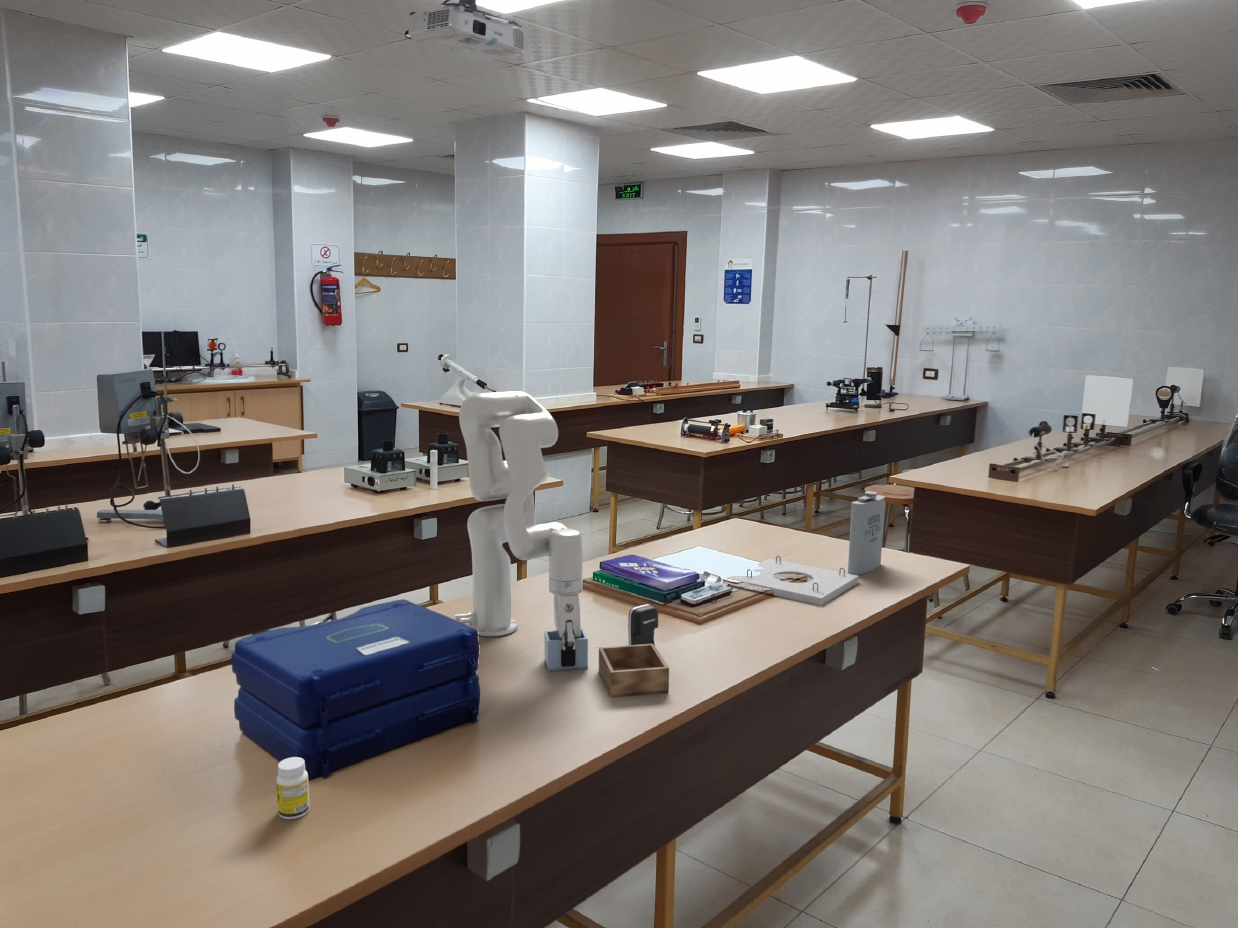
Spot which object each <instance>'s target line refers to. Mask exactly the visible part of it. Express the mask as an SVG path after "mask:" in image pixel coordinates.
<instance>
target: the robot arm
mask: <svg viewBox="0 0 1238 928" xmlns="http://www.w3.org/2000/svg"><path fill="white" fill-rule="evenodd" d="M458 414H459V415H458V416H459V418H458V419H459V426H460V430H461V434H462V437H463V440H464V443H465V447H466V456H467V457H466V459H467V467H468V468H467V469H468V478H469V479H468V480H469V487H470V492H471V495H472V496H473V498H474V499H475V500H477V501H480V502H489V501H497V500H503V499H505V503H503V504H500V503H499V504H495V505H489V506H483V507H481V508H477V509H476V510H474V511H472V512H471V513H470V515H469V517H468V519H467V532H468V537H469V541H470V549H471V563H472V564H471V565H472V567H471V569H472V601H473V602H472V605H473V606H472V607H473V608H471V611H469V612H467V613H455V615H454V617H455V619H456V620H457V621H459V623H460V622H462V623H464V624H467V626H468V625H471V626H473V627H474V628H477V629H478V632H479V637H487V638H488V637H490V638H491V637H492V638H493V637H501V636H506V635H509V634H511V633H514V632H515V631H516V630H517V629H518V621H517V620H516V619H515V618H513V617H512V579H511V578H512V572H511V571H512V570H511V569H512V566H511V563H512V562H511V557H510V556H509V553H508V552H507V551H506V549H505V548H504V547H503V544H504V543H508V546H509V549H510V551H511V554H513V556H514V557H515V558H516V559H518V560H521V561H531V560H535V559H540V558H544V557H548V591H549V593H550V594H552V595H553V616H554V617H553V619H554V626H555V629H556V630H557V632H558V635H559V636H560V637H561V638H562V649H561V666H562V667H569V666H575V639H574V633H575V635H576V636H578V637H580V635H581V629H582V628H581V606H580V596H579V594H582V592H583V568H584V567H583V565H584V564H583V555H584V554H583V551H584V550H583V543H584V542H583V535H582V533H581V532H580V531H579V530H577V529H572V528H569V527H567V526H565V525H564V524H563V523H561V522H560V521H559V522H558V521H551V522H544V523H538V524H536V510H535V509H536V508H535V497H534V490H535V489H536V488H537V487H539V486H541V485H543V483H545V482H546V481H547V480H548V472H547V467H546V465H545V461H544V457H543V453H542V450H541V449H544V448H550V447H552V446H554V445H555V444H556V442H557V441H558V438H559V428H558V425H557V422H556V420H555V418H554V417H553V416H552V414H551V413H550V412H549V411H548V410H547V409H546V408H545V407H544V406H542V405H541V404H540V402H538V401H537V400H536V399H535V398H533V396H531V395H530V394H528V393H527V392H524V391H519V390H516V391H515V390H514V391H513V390H511V391H493V392H492V391H491V392H482V393H475V394H473V395H470V396H468V397H466V398H465V399H464V400H463V401H462V402H461V404H460V407H459V412H458ZM491 428H498V434H499V437H500V440H499V438H498V436H497V435H496V434H495V432H494V431H493V430H492V429H491ZM502 451H503V454H504V458H505V460H503V455H502ZM564 633H567V636H564ZM565 639H567V641H566V643H565Z"/></svg>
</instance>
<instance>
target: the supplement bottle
mask: <svg viewBox="0 0 1238 928" xmlns="http://www.w3.org/2000/svg"><path fill="white" fill-rule="evenodd" d="M277 773H278V775H277V776H276V795H277V811H278V816H279V817H280V818H282V819H284V820H296V819H299V818H301V817H304V816H305V815H306V814H308V813H309V811H310V807H311V804H310V788H309V787H310V785H309V774H308V771H307V770H306V763H305V759H304V758H302V757H300V756H299V757H298V756H292V757H287V758H285V759H283V760H282V759H281V760H280V762H278V765H277Z"/></svg>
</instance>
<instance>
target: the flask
mask: <svg viewBox="0 0 1238 928" xmlns="http://www.w3.org/2000/svg"><path fill="white" fill-rule="evenodd" d="M885 499H886V497H885V495H880V494H879V495H878V492H877V491H871V490H870V491H868V490H867V491H865V492H864V495H862V496H861V497H857V500H856V501H855V500H854V501H851V508H850V509H851V511H850V525H849V526H850V527H849V529H850V530H849V544H848V563H847V574H852V575H857V576H859V575H862V574H865V573H868V572H871V571H873V570H875V569H877V568H879V567H880V566H881V562H882V546H883V533H884V531H883V529H884V517H885V516H884V515H885Z"/></svg>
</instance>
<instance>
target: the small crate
mask: <svg viewBox="0 0 1238 928" xmlns="http://www.w3.org/2000/svg"><path fill="white" fill-rule="evenodd" d="M543 633H544V639H543V640H544V641H543V642H544V662H545V666H546V669H547V672H555V671H558V672H559V671H570V670H583V669H584V670H585V669H588V668H589V660H588V659H589V657H588V655H589V654H588V653H589V650H588V649H589V647H588V646H589V638H588V636H587V634H586V631H585V630H584V628H581V635H580V637H578V636H576V635H575V633H574V639H575V666H569V667H562V666H561V649H562V638H561V637H560V636H559V635H558V632H557V629H556V630H545V631H544V632H543ZM564 636H567V633H564ZM566 641H567V639H565V643H566Z"/></svg>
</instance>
